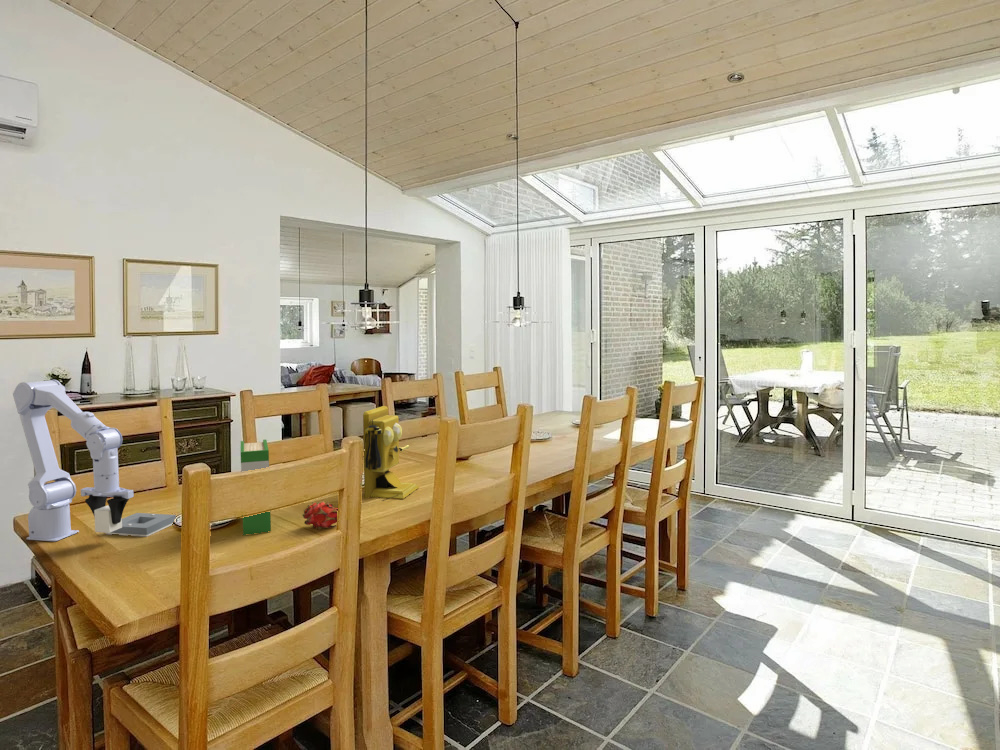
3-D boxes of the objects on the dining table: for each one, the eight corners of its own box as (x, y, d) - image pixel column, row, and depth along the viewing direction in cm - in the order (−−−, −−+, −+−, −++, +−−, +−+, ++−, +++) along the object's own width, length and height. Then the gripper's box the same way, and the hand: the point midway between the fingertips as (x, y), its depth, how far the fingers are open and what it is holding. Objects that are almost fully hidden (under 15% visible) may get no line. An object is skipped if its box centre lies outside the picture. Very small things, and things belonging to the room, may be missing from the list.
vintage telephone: (392, 507, 200) (391, 417, 197) (353, 504, 203) (352, 415, 201) (425, 483, 230) (425, 404, 228) (391, 481, 234) (390, 403, 231)
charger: (95, 531, 165) (94, 510, 164) (108, 526, 169) (107, 505, 169) (109, 532, 164) (108, 511, 164) (122, 527, 169) (121, 506, 168)
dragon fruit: (299, 533, 180) (341, 535, 183) (300, 524, 173) (344, 526, 176) (303, 505, 184) (344, 508, 187) (304, 495, 177) (346, 498, 181)
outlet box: (106, 534, 174) (105, 524, 174) (137, 520, 186) (136, 512, 186) (146, 536, 172) (146, 527, 172) (175, 523, 184) (175, 514, 184)
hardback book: (243, 517, 190) (240, 441, 188) (268, 514, 192) (266, 439, 190) (243, 535, 173) (240, 452, 171) (270, 532, 176) (268, 450, 174)
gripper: (70, 476, 163) (72, 525, 164) (118, 478, 160) (120, 528, 162) (91, 469, 170) (94, 517, 171) (138, 472, 167) (140, 520, 168)
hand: (108, 522), depth 167 cm, fingers closed on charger, 4 cm apart
